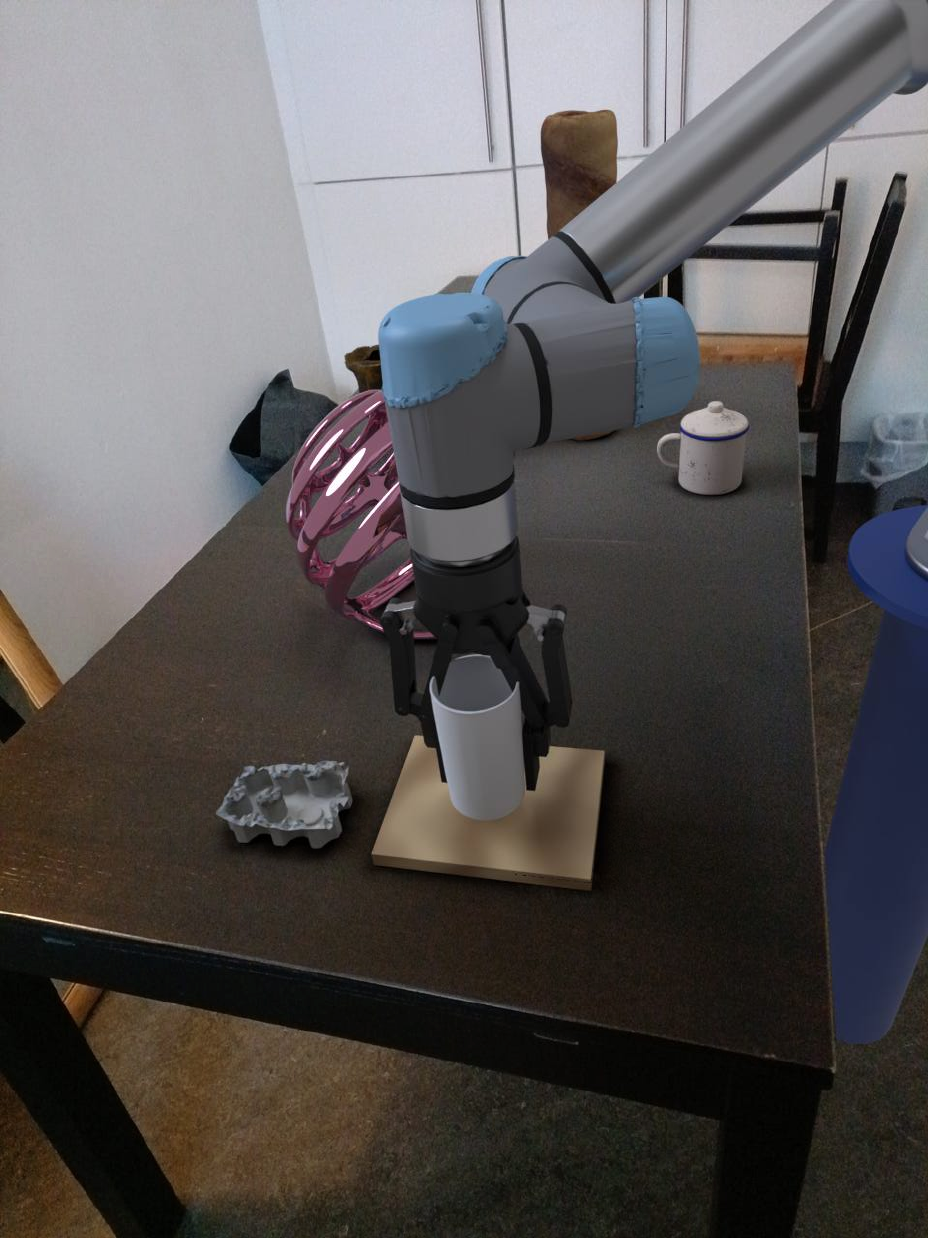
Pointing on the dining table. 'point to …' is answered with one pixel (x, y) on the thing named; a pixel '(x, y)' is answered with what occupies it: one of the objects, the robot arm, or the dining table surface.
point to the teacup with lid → (709, 450)
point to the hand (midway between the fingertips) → (490, 774)
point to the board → (498, 824)
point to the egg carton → (288, 802)
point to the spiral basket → (350, 508)
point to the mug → (480, 738)
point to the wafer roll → (577, 168)
